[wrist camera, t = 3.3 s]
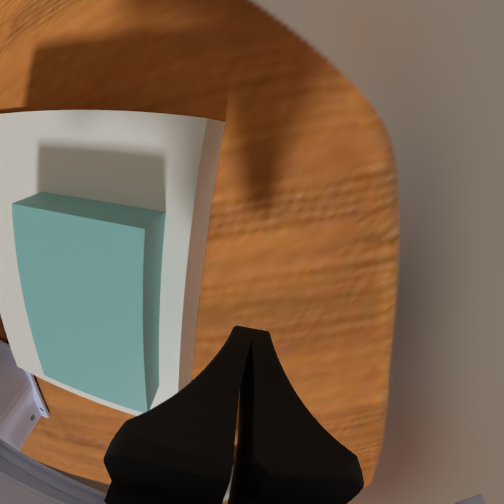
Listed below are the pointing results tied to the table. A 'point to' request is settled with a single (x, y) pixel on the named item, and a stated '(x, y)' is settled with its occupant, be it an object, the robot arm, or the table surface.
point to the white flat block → (120, 192)
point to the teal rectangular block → (93, 293)
